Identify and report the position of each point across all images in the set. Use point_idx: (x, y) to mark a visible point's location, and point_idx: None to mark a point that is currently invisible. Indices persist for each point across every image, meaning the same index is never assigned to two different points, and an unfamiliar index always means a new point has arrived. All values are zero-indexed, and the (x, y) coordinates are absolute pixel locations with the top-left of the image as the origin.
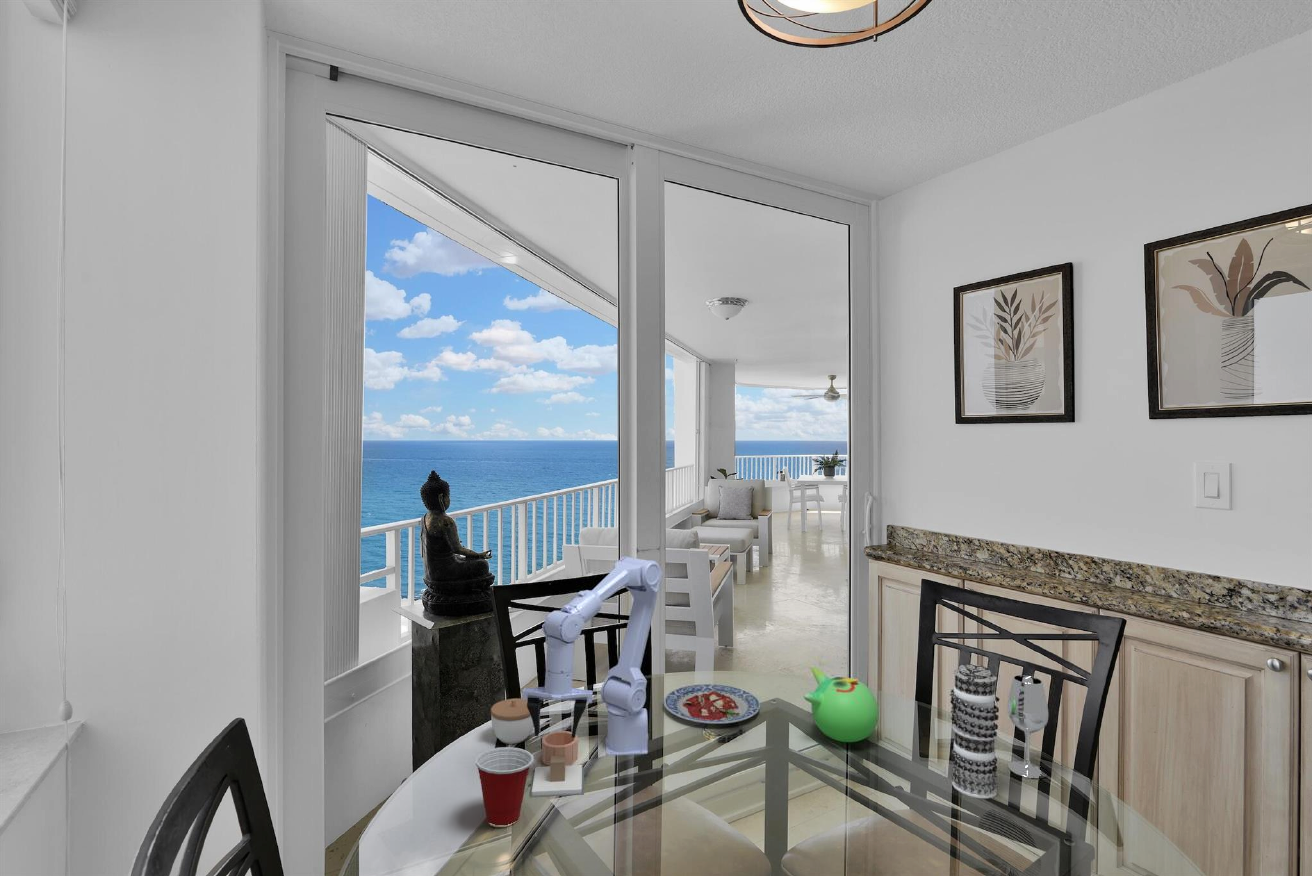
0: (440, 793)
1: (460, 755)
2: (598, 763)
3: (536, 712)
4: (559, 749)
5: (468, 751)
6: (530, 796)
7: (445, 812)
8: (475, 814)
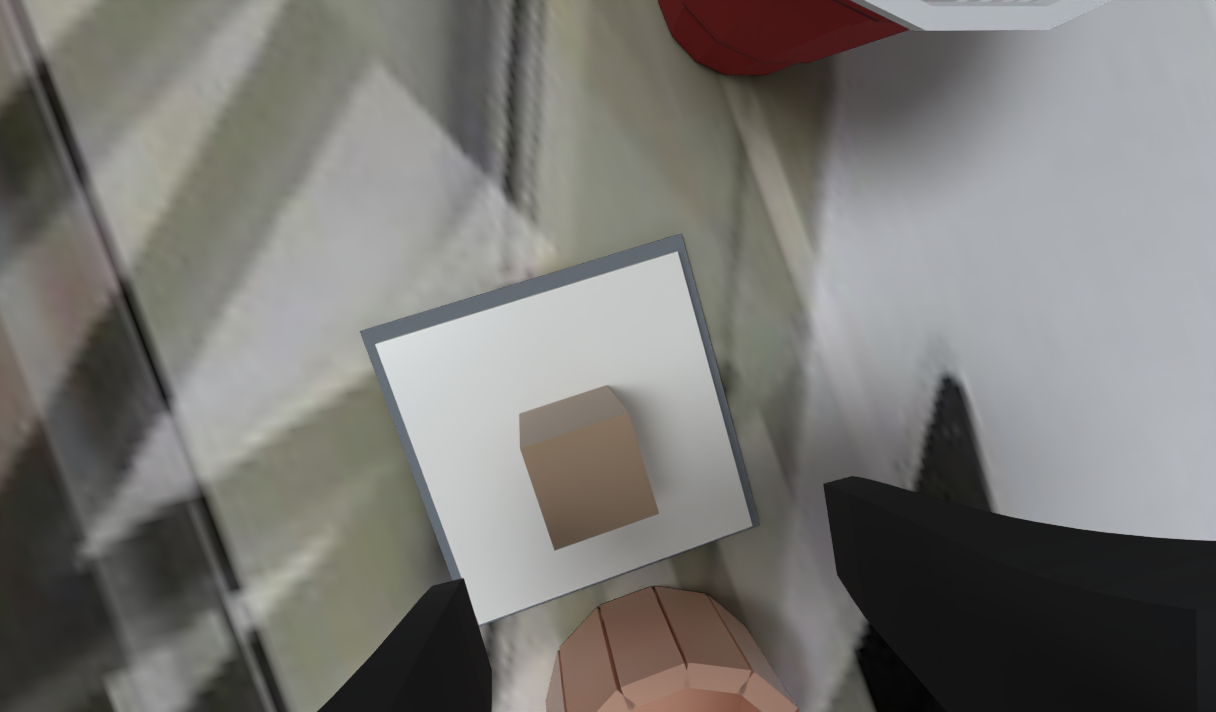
0: (1143, 198)
1: None
2: None
3: (1088, 575)
4: (647, 664)
5: None
6: (675, 244)
7: None
8: None
